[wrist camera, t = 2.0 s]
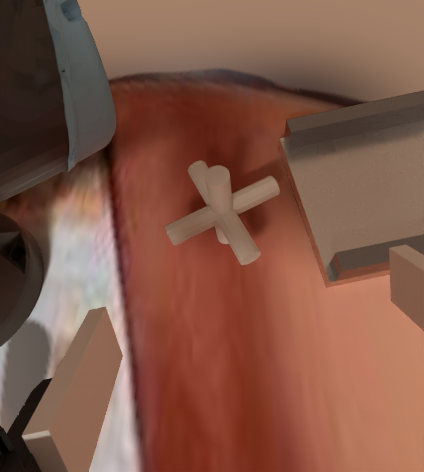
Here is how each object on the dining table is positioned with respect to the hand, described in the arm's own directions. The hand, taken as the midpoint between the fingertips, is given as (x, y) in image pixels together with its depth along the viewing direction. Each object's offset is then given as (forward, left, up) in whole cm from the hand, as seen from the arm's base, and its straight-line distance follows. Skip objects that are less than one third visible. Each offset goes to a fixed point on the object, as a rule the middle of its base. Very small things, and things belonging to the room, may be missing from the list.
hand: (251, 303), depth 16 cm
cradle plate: (+6, +19, -15) cm, 24 cm away
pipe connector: (-6, +9, -15) cm, 18 cm away
